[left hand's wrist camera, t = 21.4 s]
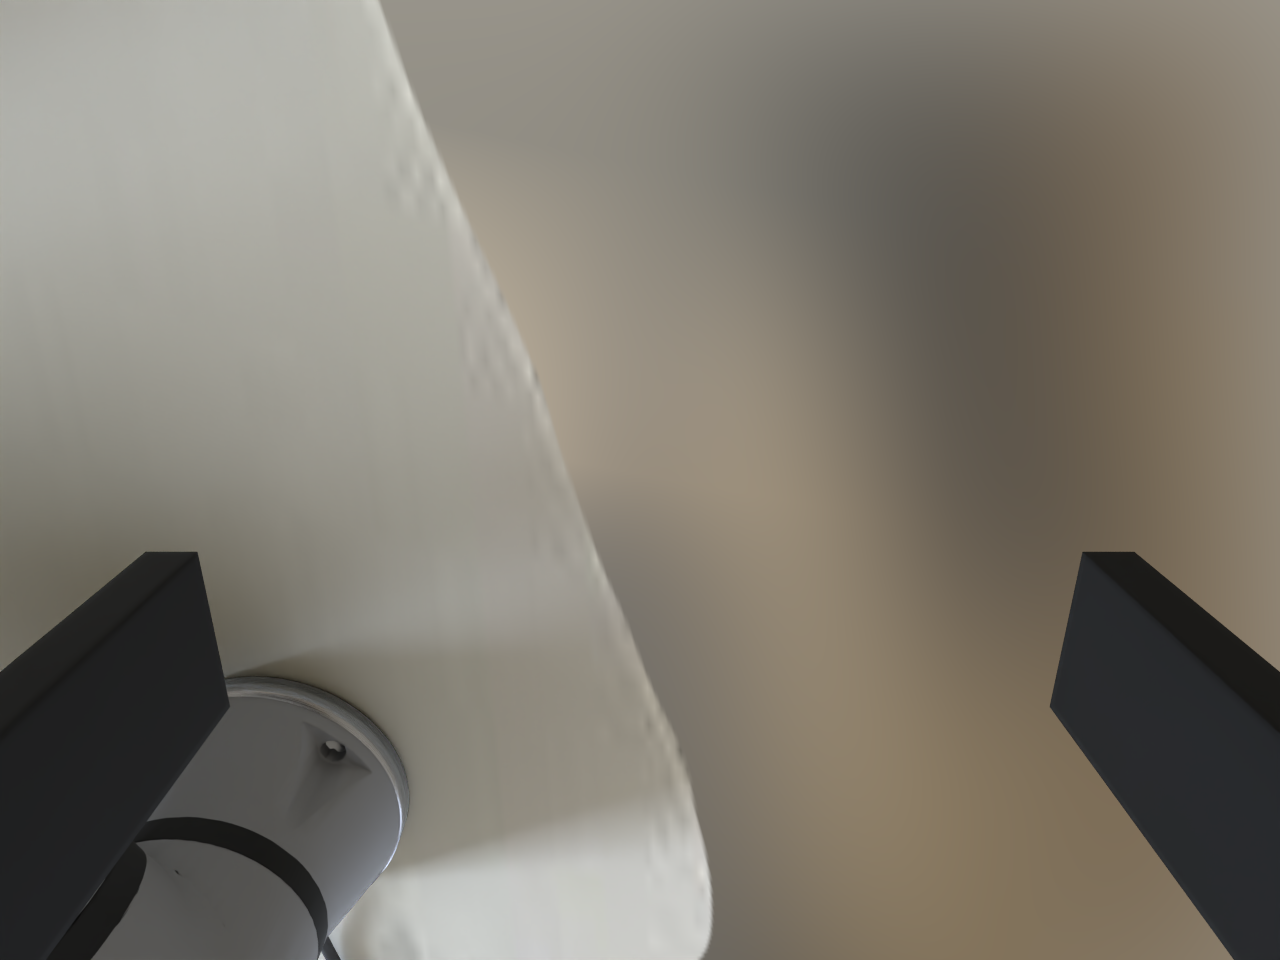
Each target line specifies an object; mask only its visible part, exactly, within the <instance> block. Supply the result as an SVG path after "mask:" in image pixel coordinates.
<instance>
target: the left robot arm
mask: <svg viewBox="0 0 1280 960" xmlns="http://www.w3.org/2000/svg"><path fill="white" fill-rule="evenodd" d="M1050 708H1051V709H1052V710H1053V712H1054V713H1055V715H1056V716H1057V717H1058V719H1059V720H1060V721H1061V723H1062V724H1063V726H1064V727H1065V728H1066V730H1067V731H1068V732H1069V734H1070V735H1071V736H1072V738H1073V739H1074V741H1075V742H1076V743H1077V745H1078V746H1079V747H1080V749H1081V750H1082V752H1083V753H1084V754H1085V756H1086V757H1087V759H1088V760H1089V761H1090V763H1091V764H1092V765H1093V767H1094V768H1095V769H1096V771H1097V772H1098V774H1099V775H1100V776H1101V778H1102V779H1103V780H1104V782H1105V783H1106V785H1107V786H1108V787H1109V789H1110V790H1111V791H1112V793H1113V794H1114V796H1115V797H1116V798H1117V800H1118V801H1119V802H1120V804H1121V805H1122V807H1123V808H1124V809H1125V811H1126V812H1127V813H1128V815H1129V816H1130V818H1131V819H1132V820H1133V822H1134V823H1135V824H1136V826H1137V827H1138V828H1139V830H1140V831H1141V833H1142V834H1143V835H1144V837H1145V838H1146V839H1147V841H1148V842H1149V844H1150V845H1151V846H1152V848H1153V849H1154V851H1155V852H1156V853H1157V855H1158V856H1159V857H1160V859H1161V860H1162V862H1163V863H1164V864H1165V865H1166V867H1167V868H1168V870H1169V871H1170V873H1171V874H1172V875H1173V877H1174V878H1175V879H1176V881H1177V882H1178V883H1179V885H1180V886H1181V888H1182V889H1183V890H1184V892H1185V893H1186V894H1187V896H1188V897H1189V899H1190V900H1191V901H1192V903H1193V904H1194V905H1195V907H1196V908H1197V910H1198V911H1199V912H1200V914H1201V915H1202V916H1203V918H1204V919H1205V920H1206V922H1207V923H1208V925H1209V926H1210V927H1211V929H1212V930H1213V932H1214V933H1215V934H1216V936H1217V937H1218V938H1219V940H1220V941H1221V943H1222V944H1223V945H1224V947H1225V948H1226V949H1227V951H1228V952H1229V954H1230V955H1231V956H1232V958H1233V959H1234V960H1280V672H1279V671H1278V670H1277V669H1276V668H1274V667H1273V666H1272V665H1271V664H1269V663H1268V662H1267V661H1266V660H1265V659H1263V658H1262V657H1261V656H1260V655H1259V654H1257V653H1256V652H1255V651H1254V650H1253V649H1251V648H1250V647H1249V646H1248V645H1246V644H1245V643H1244V642H1243V641H1242V640H1240V639H1239V638H1238V637H1237V636H1236V635H1234V634H1233V633H1232V632H1231V631H1229V630H1228V629H1227V628H1226V627H1225V626H1223V625H1222V624H1221V623H1220V622H1219V621H1217V620H1216V619H1215V618H1214V617H1213V616H1211V615H1210V614H1209V613H1208V612H1206V611H1205V610H1204V609H1203V608H1202V607H1200V606H1199V605H1198V604H1197V603H1196V602H1194V601H1193V600H1192V599H1191V598H1190V597H1188V596H1187V595H1186V594H1185V593H1183V592H1182V591H1181V590H1180V589H1179V588H1177V587H1176V586H1175V585H1174V584H1173V583H1171V582H1170V581H1169V580H1168V579H1166V578H1165V577H1164V576H1163V575H1162V574H1160V573H1159V572H1158V571H1157V570H1156V569H1154V568H1153V567H1152V566H1151V565H1150V564H1148V563H1147V562H1146V561H1145V560H1143V559H1142V558H1141V557H1140V556H1139V555H1137V554H1136V553H1135V552H1082V557H1081V562H1080V567H1079V571H1078V576H1077V581H1076V585H1075V590H1074V595H1073V600H1072V605H1071V609H1070V614H1069V618H1068V623H1067V628H1066V633H1065V637H1064V642H1063V647H1062V651H1061V656H1060V661H1059V666H1058V670H1057V675H1056V680H1055V684H1054V689H1053V694H1052V699H1051V703H1050ZM408 809H409V788H408V782H407V777H406V774H405V771H404V768H403V765H402V763H401V761H400V758H399V756H398V755H397V753H396V751H395V749H394V747H393V746H392V745H391V743H390V742H389V740H388V739H387V738H386V736H385V735H384V734H383V733H382V732H381V730H380V729H379V728H378V727H377V726H376V725H375V724H374V723H373V722H372V721H371V720H370V719H368V718H367V717H366V716H365V715H363V714H362V713H361V712H360V711H358V710H357V709H356V708H354V707H353V706H351V705H350V704H348V703H346V702H345V701H343V700H341V699H340V698H338V697H336V696H334V695H332V694H330V693H327V692H325V691H323V690H320V689H318V688H315V687H313V686H310V685H306V684H303V683H299V682H295V681H291V680H286V679H280V678H272V677H238V678H230V679H225V680H224V675H223V670H222V666H221V661H220V656H219V651H218V647H217V642H216V637H215V633H214V628H213V623H212V618H211V614H210V609H209V604H208V600H207V595H206V590H205V585H204V581H203V576H202V571H201V567H200V562H199V557H198V553H197V552H145V553H144V554H143V555H141V556H140V557H139V558H138V559H137V560H135V561H134V562H133V563H132V564H130V565H129V566H128V567H127V568H126V569H124V570H123V571H122V572H121V573H120V574H118V575H117V576H116V577H115V578H113V579H112V580H111V581H110V582H109V583H107V584H106V585H105V586H104V587H103V588H101V589H100V590H99V591H98V592H97V593H95V594H94V595H93V596H92V597H90V598H89V599H88V600H87V601H86V602H84V603H83V604H82V605H81V606H80V607H78V608H77V609H76V610H75V611H74V612H72V613H71V614H70V615H69V616H67V617H66V618H65V619H64V620H63V621H61V622H60V623H59V624H58V625H57V626H55V627H54V628H53V629H52V630H50V631H49V632H48V633H47V634H46V635H44V636H43V637H42V638H41V639H40V640H38V641H37V642H36V643H35V644H34V645H32V646H31V647H30V648H29V649H27V650H26V651H25V652H24V653H23V654H21V655H20V656H19V657H18V658H17V659H15V660H14V661H13V662H12V663H11V664H9V665H8V666H7V667H6V668H4V669H3V670H2V671H1V672H0V960H318V958H319V955H320V953H321V952H322V953H323V955H324V957H325V959H326V960H341V959H340V958H339V956H338V954H337V952H336V950H335V948H334V947H333V945H332V943H331V941H330V939H329V937H328V935H329V934H330V933H331V932H332V931H333V929H334V928H335V927H336V926H337V925H338V924H339V922H340V921H341V920H342V919H343V918H344V917H345V915H346V914H347V913H348V912H349V911H350V909H351V908H352V907H353V906H354V905H355V904H356V902H357V901H358V900H359V899H360V897H361V896H362V895H363V894H364V892H365V891H366V890H367V889H368V887H369V886H370V885H371V884H372V883H373V882H374V881H375V880H376V879H377V878H378V877H379V875H380V874H381V873H382V872H383V871H384V869H385V868H386V867H387V865H388V864H389V862H390V861H391V859H392V857H393V855H394V853H395V851H396V848H397V845H398V842H399V840H400V837H401V834H402V831H403V828H404V825H405V822H406V819H407V814H408Z"/></svg>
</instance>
